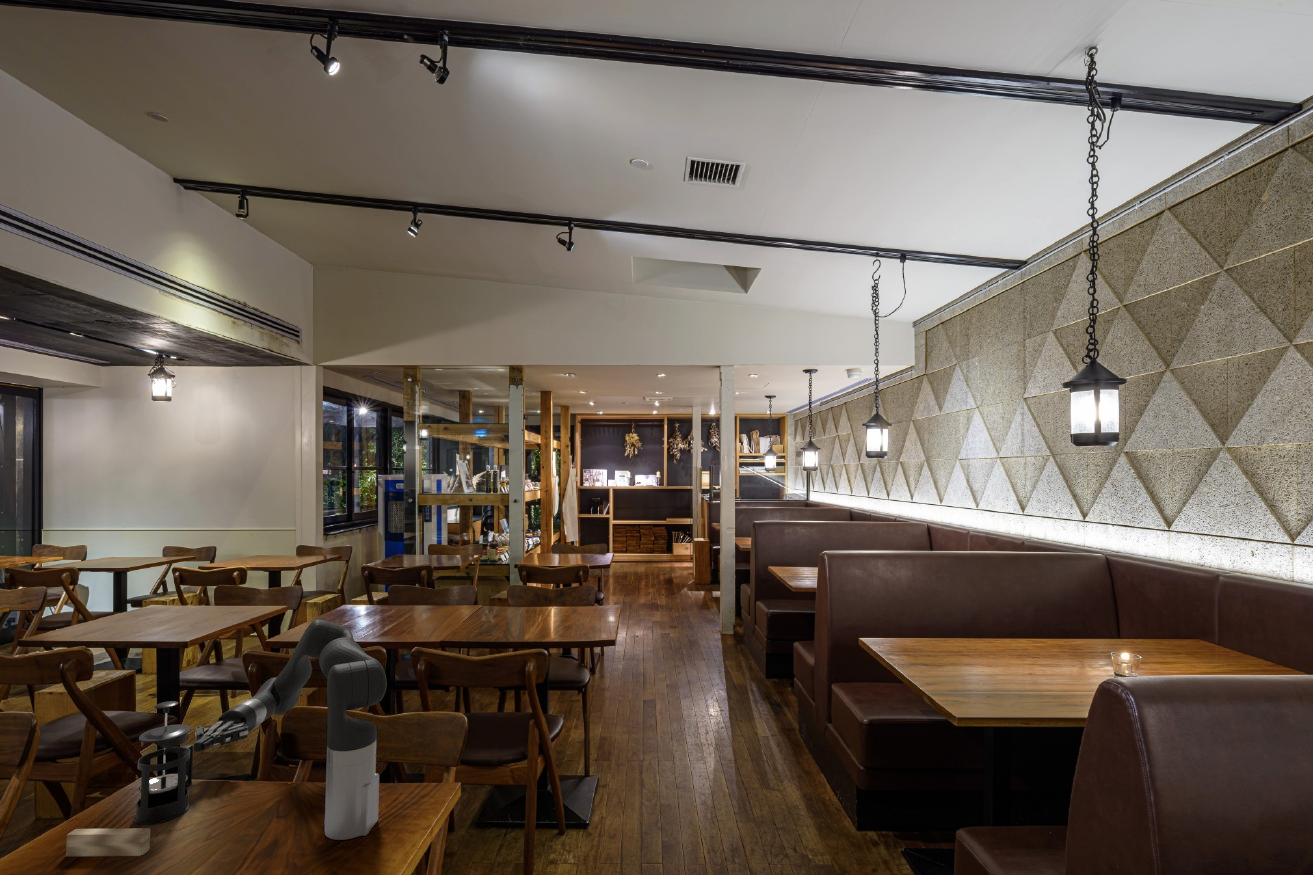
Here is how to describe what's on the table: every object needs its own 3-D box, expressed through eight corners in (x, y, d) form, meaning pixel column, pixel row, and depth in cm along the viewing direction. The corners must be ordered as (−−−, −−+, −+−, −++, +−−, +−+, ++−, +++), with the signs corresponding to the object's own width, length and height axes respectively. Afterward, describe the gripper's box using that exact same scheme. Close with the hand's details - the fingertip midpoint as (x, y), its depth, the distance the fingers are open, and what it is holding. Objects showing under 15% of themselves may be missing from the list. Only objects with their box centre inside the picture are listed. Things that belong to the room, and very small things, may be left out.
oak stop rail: (149, 849, 127) (150, 828, 127) (141, 855, 125) (142, 833, 125) (74, 850, 127) (75, 828, 127) (65, 856, 125) (66, 834, 125)
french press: (159, 828, 134) (163, 713, 136) (119, 824, 136) (123, 710, 137) (206, 800, 146) (210, 694, 147) (169, 796, 148) (173, 691, 149)
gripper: (216, 703, 169) (168, 730, 152) (269, 703, 169) (227, 730, 152) (215, 733, 169) (167, 764, 151) (268, 733, 169) (226, 764, 152)
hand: (197, 747), depth 152 cm, fingers closed
